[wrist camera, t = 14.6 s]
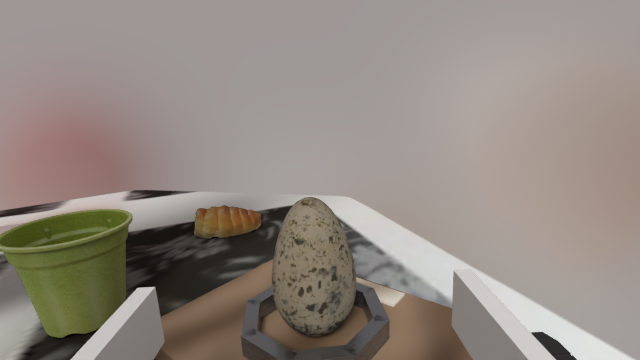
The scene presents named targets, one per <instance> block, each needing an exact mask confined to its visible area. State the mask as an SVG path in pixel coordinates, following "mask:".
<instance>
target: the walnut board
mask: <svg viewBox="0 0 640 360" xmlns="http://www.w3.org/2000/svg"><path fill="white" fill-rule="evenodd" d="M272 264H273V260H271V261H269V262H267V263H265V264H263V265H261V266H259V267H257V268H255V269H253V270H251V271H249V272H247V273H245V274H244V275H242V276H240V277H238V278H236V279H234V280H232V281H230V282H228V283H226V284H224V285H222V286H220V287H218V288H216V289H214V290H212V291H211V292H209V293H207V294H205V295H203V296H201V297H199V298H197V299H195V300H193V301H191V302H189V303H187V304H185V305H183V306H181V307H179V308H178V309H176V310H174V311H172V312H170V313H168V314H166V315H164V316H162V317H161V323H162V329H163V334H164V340H165V342H164V344H163V345H162V347H161V348H160V350H159V352H158V353H157V355H156V357H155V358H154V359H156V360H249V359H247V358H246V357H244V356H243V353H242V344H241V332H242V327H243V321H244V316H245V311H246V305H247V301H248V300H249V299H251V298H253V297H254V296H256V295H258V294H260V293H261V292H263V291H265V290H266V289H268V288H270V287H271V286H272ZM356 282H358V283H360V284H363V285H366V286H369V287H372V288H374V290H375V292H376V294H377V296H378V298H379V300H380V302H381V304H382V306H383V308H384V310H385V312H386V314H387V316H388V318H389V340H388V341H387V342H386V343H385V344H384V346H383V347H382V348H381V349H380V350H379V351H378V352H377V354H376V355H375V356H374V357H373V358H372V359H371V360H473V359H472V358H471V356H470V354H469V353H468V351H467V350H466V348H465V346H464V345H463V343H462V341H461V340H460V338H459V337H458V335H457V333H456V332H455V330H454V329H453V327H452V308H449V307H446V306H443V305H440V304H437V303H434V302H431V301H428V300H425V299H422V298H419V297H416V296H413V295H410V294H407V293H404V292H401V291H398V290H395V289H392V288H389V287H386V286H383V285H380V284H377V283H374V282H371V281H368V280H365V279H362V278H359V277H356ZM367 323H368V321H367V318H366V315H365V313H364V310H363V309H362V308H359V307H357V306H354V305H353V307H352V310H351V312H350V314H349V316H348V317H347V319H346V320H345V321H344V323H343V324H342V325H341V326H340V327H339V328H337V329H336V330H335V331H333V332H331V333H329V334H326V335H323V336H307V335H303V334H301V333H299V332H297V331H295V330H294V329H292V328H291V327H290V326H289V325H288V324H287V323H286V322H285V321H284V319H283V318H282V317H281V315H280V313H279V311H278V309H277V310H275V311H274V312H272V313H271V314H269V315H268V316H266V317H265V318H264V319H262V321H261V331H260V333H262V334H264V335H266V336H267V337H269V338H271V339H273V340H274V341H276V342H278V343H280V344H281V345H283V346H285V347H287V348H288V349H290V350H292V351H295V350H304V349H313V348H321V347H330V346H339V345H346V344H347V343H348V342H349V341H350V340H351V339H352V338H353V337H354V336H355V335H356V334H357V333H358V332H359V331H360V330H361V329H362V328H363V327H364V326H365V325H366V324H367Z"/></svg>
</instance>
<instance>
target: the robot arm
mask: <svg viewBox="0 0 640 360" xmlns="http://www.w3.org/2000/svg"><path fill="white" fill-rule="evenodd" d="M452 327H453V329H454V330H455V332H456V333H457V335H458V337H459V338H460V340H461V341H462V343H463V345H464V346H465V348H466V350H467V351H468V353H469V354H470V356H471V358H472V359H473V360H577V359H576V358H575V357H574V356H571V354H570V352H569V351H568V350H567V349H565V348H564V347H563V346H562V345H561V344H560V343H559V342H558V341H557V340H555V339H553V338H552V337H550V336H548V335H547V334H545V333H543V332H534V333H530V332H529V330H528V329H527V328H526V327H525V326H524V325H523V324H522V323H521V322H520V321H519V320H518V319H517V318H516V317H515V316H514V315H513V313H512V312H511V311H510V310H509V309H508V308H507V307H506V306H505V305H504V304H503V303H502V302H501V301H500V300H499V299H498V298H497V296H496V295H495V294H494V293H493V292H492V291H491V290H490V289H489V288H488V287H487V286H486V285H485V284H484V283H483V282H482V281H481V279H480V278H479V277H478V276H477V275H476V274H475V273H474V272H473V271H472V270H471V269H469V270H454V277H453V301H452ZM164 342H165V340H164V334H163V329H162V323H161V317H160V311H159V305H158V300H157V294H156V288H155V287H143V288H137V289H136V290H135V291H134V292H133V293H132V294H131V295H130V297H129V298H128V299H127V300H126V301H125V302H124V303H123V304H122V305H121V306H120V307H119V308H118V309H117V310H116V312H115V313H114V314H113V315H112V316H111V317H110V318H109V319H108V320H107V321H106V322H105V323H104V324H103V325H102V326H101V328H100V329H99V330H98V331H97V332H96V333H95V334H94V335H93V336H92V337H91V338H90V339H89V340H88V341H87V343H86V344H85V345H84V346H83V347H82V348H81V349H80V350H79V351H78V352H77V353H76V354H75V355H74V356H73V357H72V359H71V360H154V358H155V357H156V355H157V353H158V352H159V350H160V348H161V347H162V345H163V344H164Z"/></svg>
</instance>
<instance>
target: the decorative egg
mask: <svg viewBox="0 0 640 360" xmlns="http://www.w3.org/2000/svg"><path fill="white" fill-rule="evenodd" d="M272 291H273V297H274V301H275V304H276V307H277V309H278V311H279V313H280V315H281V317H282V318H283V319H284V321H285V322H286V323H287V324H288V325H289V326H290V327H291V328H292V329H294V330H295V331H297V332H299V333H301V334H303V335H307V336H323V335H326V334H329V333H331V332H333V331H335V330H336V329H337V328H339V327H340V326H341V325H342V324H343V323H344V321H345V320H346V319H347V317H348V316H349V314H350V312H351V310H352V307H353V304H354V300H355V296H356V272H355V265H354V260H353V256H352V253H351V249H350V246H349V243H348V241H347V238H346V235H345V233H344V230H343V228H342V226H341V224H340V222H339V221H338V219H337V217H336V216H335V214H334V213H333V212H332V210H331V209H330V208H329V207H328V206H327V205H326V204H325V203H324V202H322V201H321V200H319V199H317V198H313V197H307V198H303V199H301V200H299V201H298V202H296V203H295V204H294V205H293V206H292V208H291V209H290V211H289V212H288V214H287V216H286V218H285V219H284V222H283V224H282V226H281V229H280V232H279V236H278V239H277V243H276V247H275V252H274V257H273V264H272Z"/></svg>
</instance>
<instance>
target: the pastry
mask: <svg viewBox="0 0 640 360" xmlns="http://www.w3.org/2000/svg"><path fill="white" fill-rule="evenodd" d="M260 226H261V215H260V213H257V212H255V211H253V210H246V209H242V208H238V207H228V206H225V205H224V206H221V207H211V208H209V209H204V208H203V209H202V208H199V209H198V210H197V211H196V217H195V231H194V235H196V236H197V237H200V238H203V239H211V238H212V237H219V238H223V237H228V236H235V235H240V234H245V233H249V232H251V231H252V230H255V229H258V228H259V227H260Z"/></svg>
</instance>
